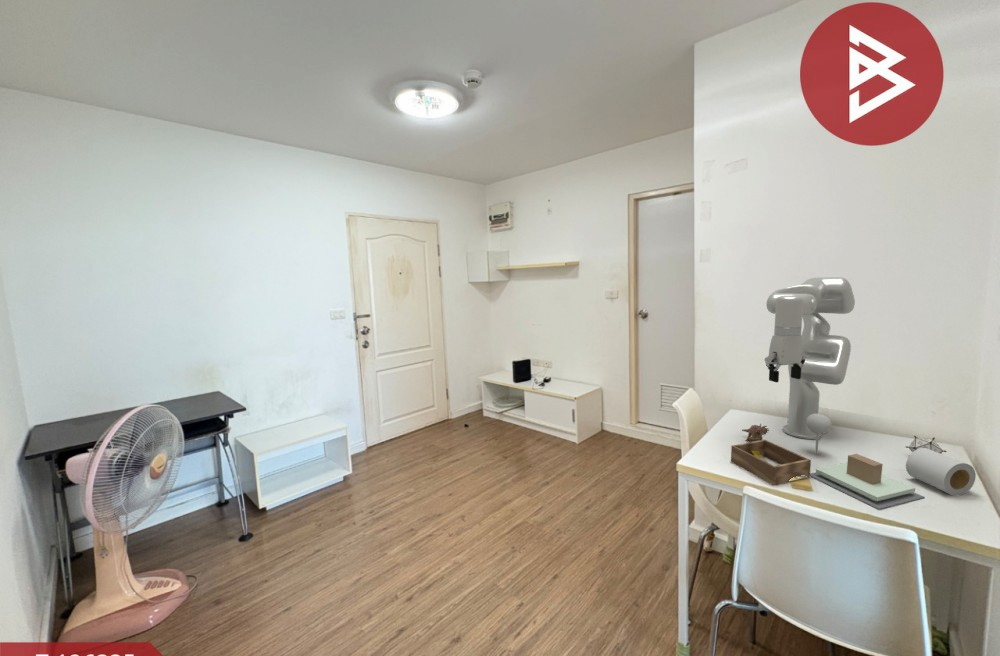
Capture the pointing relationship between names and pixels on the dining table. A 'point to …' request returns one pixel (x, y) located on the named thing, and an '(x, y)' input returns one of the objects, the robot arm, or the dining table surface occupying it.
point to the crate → (772, 474)
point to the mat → (876, 504)
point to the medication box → (758, 455)
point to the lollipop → (818, 426)
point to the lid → (865, 478)
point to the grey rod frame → (925, 445)
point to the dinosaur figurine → (755, 432)
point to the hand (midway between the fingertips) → (784, 379)
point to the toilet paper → (941, 471)
